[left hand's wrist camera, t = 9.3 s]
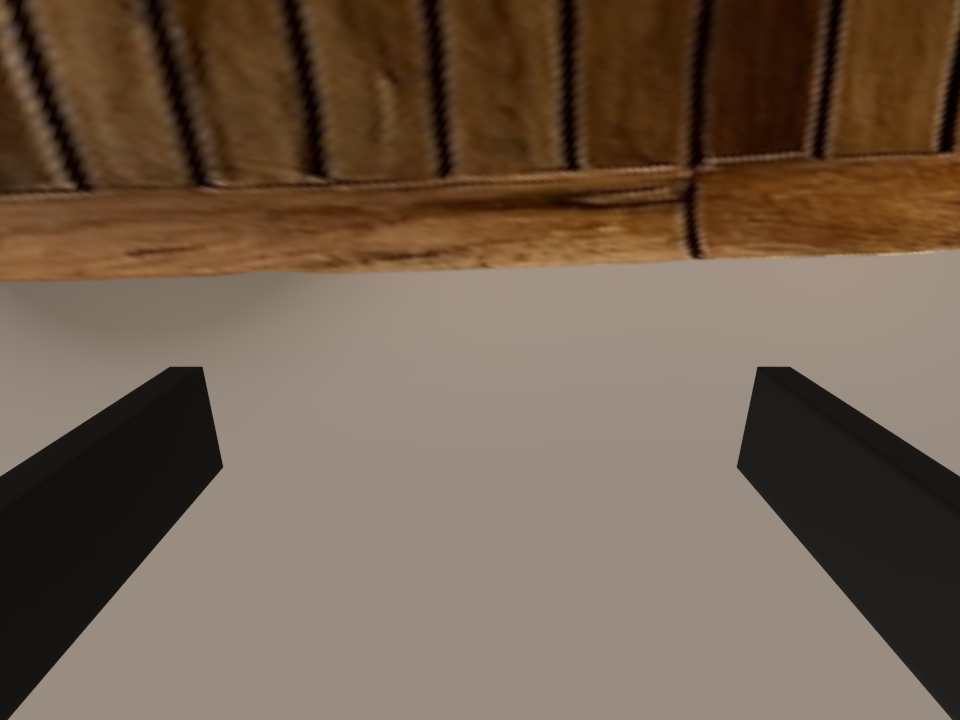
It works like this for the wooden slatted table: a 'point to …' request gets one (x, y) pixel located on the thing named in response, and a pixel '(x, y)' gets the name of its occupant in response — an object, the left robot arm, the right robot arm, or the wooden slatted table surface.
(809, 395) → the left robot arm
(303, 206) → the wooden slatted table surface
